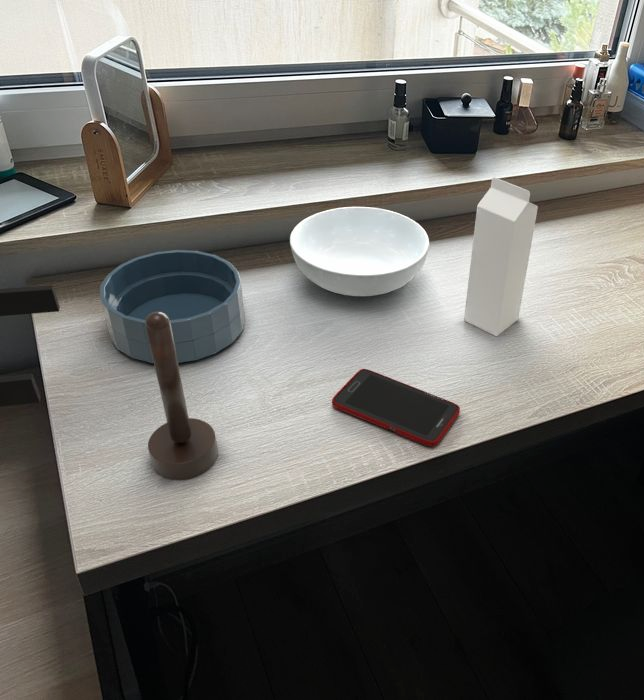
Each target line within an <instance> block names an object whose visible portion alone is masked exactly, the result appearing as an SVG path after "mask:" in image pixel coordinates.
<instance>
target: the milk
mask: <svg viewBox="0 0 644 700" xmlns="http://www.w3.org/2000/svg"><path fill="white" fill-rule="evenodd" d="M530 197H531V192H530V191H529V190H528V189H525V188H523V187H520V186H518V185H516V184H513V183H511V182H508V181H505V180H504V179H500V178H498V177H495V176H494V177H492V178H491V182H490V187H489V189H488V190H487V192H485V194H484V196H483V197H482V199H480V201H479V202H478V204H477V206H476V213H475V223H474V229H473V230H474V231H473V238H472V246H471V247H472V248H471V256H470V265H469V273H468V280H467V281H468V282H467V289H466V298H465V306H464V315H463V321H464V322H467V323H468V324H470V325H472V326H474V327H476V328H478V329H481V330H483V332H486V333H488V334H491V335H493V336H494V337H498V336H499V335H501V334H502V333H504V332H505V330H507V329H509V327H510V326H512V325H513V324H514V323H515V322H517V321H518V320H519V317H520V312H521V306H522V300H523V294H524V289H525V283H526V277H527V271H528V265H529V259H530V255H531V248H532V243H533V238H534V231H535V226H536V220H537V214H538V208H539V206H538V205H536V204H535V203H532V202H530Z"/></svg>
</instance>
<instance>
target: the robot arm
mask: <svg viewBox="0 0 644 700" xmlns="http://www.w3.org/2000/svg"><path fill="white" fill-rule="evenodd" d="M60 308H61V307H60V303H59V300H58V296H57V293H56V289H55V286H54V284H49V285H36V286H21V287H2V288H1V287H0V317H7V316H8V317H9V316H20V315H32V314H33V315H34V314H45V313H57V312H60ZM41 398H42V397H41V394H40V391H39V387H38V385H37V383H36V379H35V377H34V375H33V373H23V374H15V375H14V374H13V375H6V376H0V408H1V407H11V406H19V405H28V404H36V403H40V402H41Z"/></svg>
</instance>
